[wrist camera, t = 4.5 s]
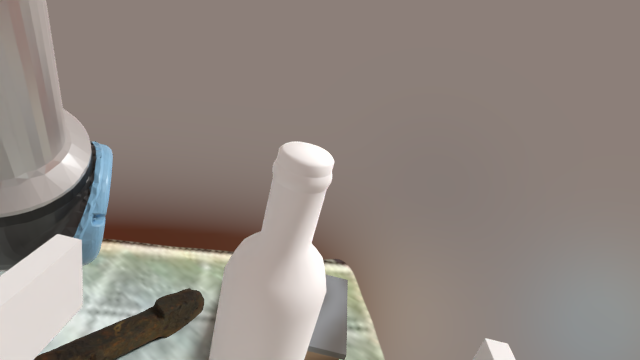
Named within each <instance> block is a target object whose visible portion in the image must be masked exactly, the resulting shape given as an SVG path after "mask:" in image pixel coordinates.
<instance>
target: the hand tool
mask: <svg viewBox="0 0 640 360" xmlns="http://www.w3.org/2000/svg"><path fill="white" fill-rule="evenodd" d="M203 306H204V298H203V297H202V294H201V293H200V292H199V291H197V290H191V289H190V288H189V289H185V290H182V291H180V292H177V293H174V294H170V295H166V296H164V297H161V298H159V299H158V300H156V302H155V305H154V306H153V307H151V308H149V309H147V310H145V311H143V312H141V313H139V314H137V315H134V316H132V317H129V318H127V319H124V320H122V321H119V322H117V323H115V324H113V325H110V326H108V327H105V328H103V329H101V330H98V331H96V332H93V333H91V334H89V335H86V336H84V337H82V338H79V339H76V340H74V341H72V342H70V343H67V344H65V345H63V346H60V347H58V348H56V349H53V350H51V351H49V352H46V353H42V354H41V355H38V356H37V357H36V358H35V359H34V360H114V359H116V358H118V357H120V356H122V355H125V354H126V353H128V352H130V351H132V350H134V349H136V348H138V347H140V346H142V345H144V344H146V343H148V342H150V341H152V340H154V339H156V338H158V337H162V338H167V337H169V336H170V335H172V334H174V333H175V332H177V331H179V330H180V329H181V328H183V327H184V326H185V325H187V324H188V323H189V322H190V321H192V320H193V319H194V318H195V317H196V316H197V315H198V314H200V313H201V312H202V310H203Z"/></svg>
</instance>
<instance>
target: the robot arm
mask: <svg viewBox="0 0 640 360" xmlns="http://www.w3.org/2000/svg"><path fill="white" fill-rule="evenodd" d="M112 160H113V154H112V150H111V149H110V148H109V147H108V146H106V145H102V144H98V143H97V142H92V141H90V140H89V136H88V133H87V132H86V130H85V128H84V127H83V125H82V124H81V123H80V122H79V121H78V120H77V119H76V118H75V117H74V116H73V115H71V114H70V113H69V112H67V111H66V110H64V109H63V105H62V100H61V93H60V86H59V80H58V74H57V67H56V62H55V55H54V48H53V43H52V36H51V29H50V23H49V17H48V11H47V5H46V0H0V271H6V272H5V273H4V274H2V275H1V276H0V360H34V359H35V358H36V357H37V356H38V355H39V353H40V352H41V351H42V350H43V349H44V348H45V347H46V346H47V345H48V344H49V343H50V342H51V340H52V339H53V338H54V337H55V336H56V335H57V334H58V333H59V332H60V331H61V330H62V329H63V328H64V326H65V325H66V324H67V323H68V322H69V321H70V320H71V319H72V318H73V317H74V316H75V315H76V313H77V312H78V311H79V310H80V309H81V308H82V307H83V277H82V266H84V265H87V264H89V263H91V262H92V261H93V260H94V259H95V258H96V257H97V255H98V253H99V251H100V248H101V243H102V239H103V233H104V227H105V215H106V211H107V206H108V200H109V193H110V183H111V174H112ZM473 360H515V358H514V356H513V354H512V351H511V349H510V347H509V345H508V344H507V343H502V342H498V341H494V340H490V339H486V338H485V339H484V341H483V343H482V344H481V346H480V348H479V350H478V351H477V353H476V355H475V357H474V359H473Z"/></svg>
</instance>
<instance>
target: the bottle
mask: <svg viewBox="0 0 640 360" xmlns="http://www.w3.org/2000/svg"><path fill="white" fill-rule="evenodd" d="M333 165H334V160H333V157H332V156H331V154H329V153H328V152H327V151H326V150H324V149H323V148H321V147H318V146H316V145H313V144H309V143H304V142H289V143H286V144H284V145H282V146H281V147H280V148H279V151H278V156H277V159H276V160H275V161H274V163H273V179H272V184H271V188H270V194H269V198H268V203H267V207H266V212H265V217H264V221H263V226H262V231H260V232H258V233H255V234H253V235H251V236H249V237H247V238H245V239H244V240H243V241H242V243H241V244H240V245H239V246H238V248H237V249H236V250H235V252H234V253H233V255H232V256H231V258H230V259H229V261H228V263H227V264H226V266H225V269H224V274H223V280H222V286H221V292H220V298H219V303H218V309H217V315H216V321H215V326H214V332H213V338H212V344H211V349H210V355H209V360H304V359H305V356H306V353H307V350H308V346H309V343H310V340H311V337H312V334H313V331H314V328H315V325H316V322H317V319H318V316H319V313H320V310H321V306H322V303H323V300H324V297H325V294H326V276H325V268H324V263H323V258H322V256H321V255H320V254H319V252H318V251H317V249H316V248H315V247H314V246H313V245H312V243H311V242H312V239H313V235H314V232H315V228H316V225H317V221H318V218H319V214H320V211H321V207H322V204H323V200H324V197H325V193H326V190H327V188H328V187H329V185H330V183H331V180H332V168H333Z"/></svg>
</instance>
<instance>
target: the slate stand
mask: <svg viewBox="0 0 640 360" xmlns="http://www.w3.org/2000/svg"><path fill="white" fill-rule="evenodd" d="M325 276H326V294H325V297H324V300H323V303H322V306H321V310H320V313H319V316H318V319H317V322H316V325H315V328H314V331H313V334H312V337H311V340H310V343H309V346H308V350H307V353H306V356H305V359H304V360H339V359H343V360H344V359H345V357H346V340H347V281H348V280H345V279H341V278H337V277H333V276H329V275H325Z"/></svg>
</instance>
